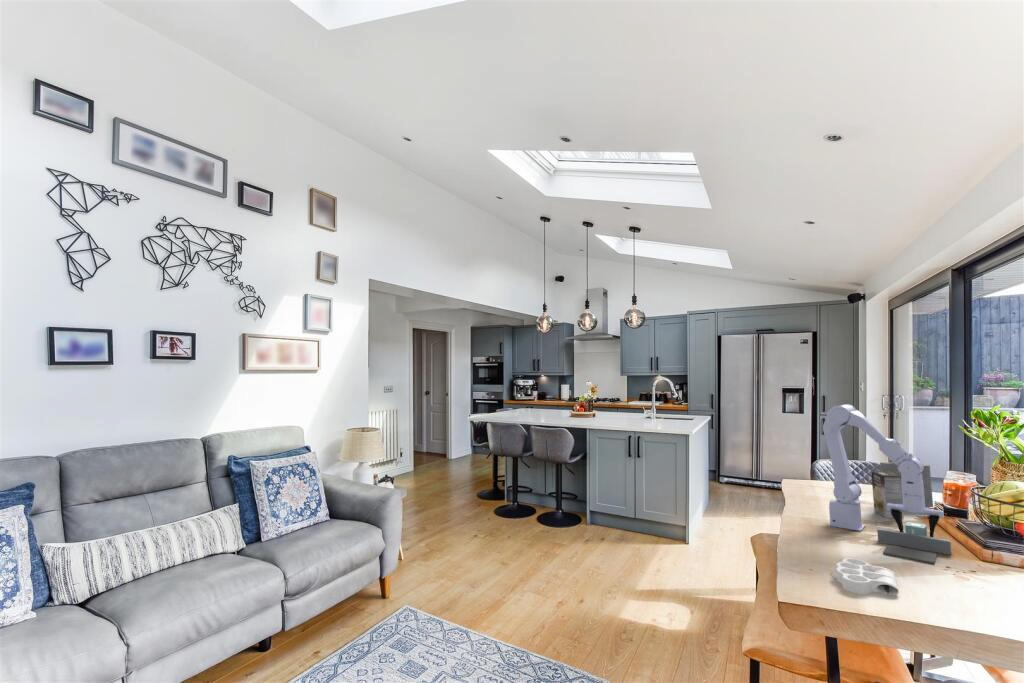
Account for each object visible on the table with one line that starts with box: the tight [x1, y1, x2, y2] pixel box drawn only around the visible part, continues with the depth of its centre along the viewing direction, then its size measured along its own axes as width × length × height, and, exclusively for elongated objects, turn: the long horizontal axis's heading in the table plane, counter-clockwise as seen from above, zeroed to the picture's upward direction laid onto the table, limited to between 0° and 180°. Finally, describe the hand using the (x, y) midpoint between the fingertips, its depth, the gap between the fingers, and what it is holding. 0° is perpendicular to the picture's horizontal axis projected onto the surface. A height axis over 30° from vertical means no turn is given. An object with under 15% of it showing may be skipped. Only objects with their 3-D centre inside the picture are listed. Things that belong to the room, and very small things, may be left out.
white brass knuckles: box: [830, 557, 900, 596], centre depth 132 cm, size 3×18×15 cm
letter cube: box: [904, 521, 928, 536], centre depth 161 cm, size 5×5×5 cm
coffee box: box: [871, 470, 905, 520], centre depth 188 cm, size 9×6×16 cm
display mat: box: [882, 544, 938, 565], centre depth 149 cm, size 12×9×1 cm
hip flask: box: [879, 461, 934, 508], centre depth 197 cm, size 16×4×20 cm, turn 57°
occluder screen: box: [876, 527, 952, 556], centre depth 155 cm, size 18×2×4 cm, turn 45°
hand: (916, 535), depth 161 cm, fingers open, 7 cm apart
